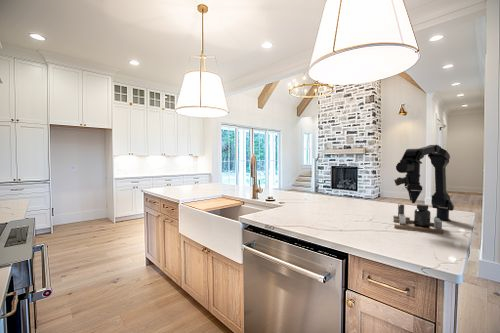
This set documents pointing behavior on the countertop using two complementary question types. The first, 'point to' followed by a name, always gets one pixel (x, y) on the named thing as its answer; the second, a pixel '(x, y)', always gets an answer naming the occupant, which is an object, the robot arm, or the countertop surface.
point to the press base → (436, 224)
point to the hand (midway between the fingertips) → (412, 201)
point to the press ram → (401, 215)
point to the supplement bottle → (422, 216)
